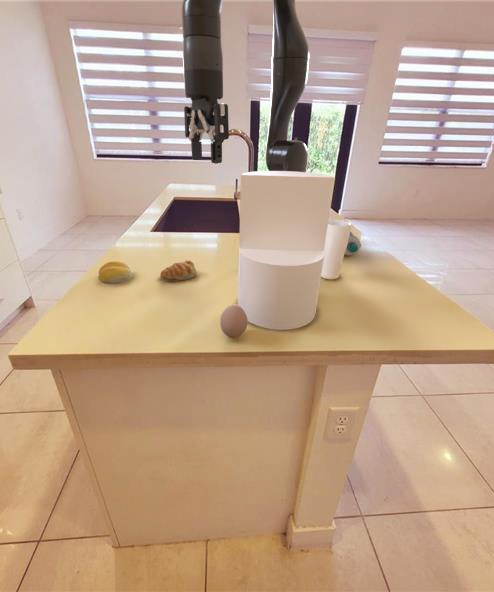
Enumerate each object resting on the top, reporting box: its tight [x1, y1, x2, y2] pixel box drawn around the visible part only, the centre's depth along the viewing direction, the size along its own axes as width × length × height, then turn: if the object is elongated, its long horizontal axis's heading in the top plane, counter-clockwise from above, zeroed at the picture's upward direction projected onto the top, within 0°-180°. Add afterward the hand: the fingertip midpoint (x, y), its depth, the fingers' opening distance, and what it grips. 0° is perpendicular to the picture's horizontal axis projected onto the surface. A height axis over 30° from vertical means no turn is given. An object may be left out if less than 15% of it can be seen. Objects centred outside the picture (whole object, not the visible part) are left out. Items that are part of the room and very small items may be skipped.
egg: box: [219, 303, 248, 339], centre depth 59 cm, size 5×5×7 cm
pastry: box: [160, 260, 198, 282], centre depth 83 cm, size 9×7×4 cm
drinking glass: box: [321, 219, 352, 281], centre depth 83 cm, size 7×7×15 cm
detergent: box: [344, 231, 362, 256], centre depth 108 cm, size 13×7×25 cm
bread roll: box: [97, 260, 133, 285], centre depth 82 cm, size 8×9×4 cm
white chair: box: [237, 170, 336, 331], centre depth 64 cm, size 17×17×28 cm
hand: (206, 161), depth 68 cm, fingers open, 8 cm apart
